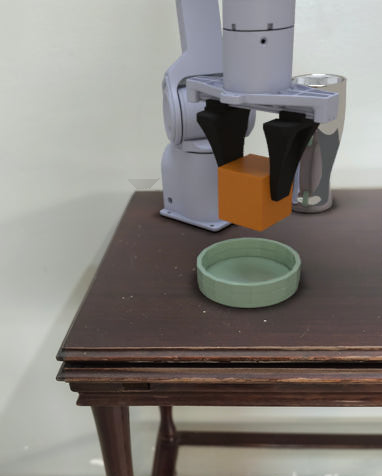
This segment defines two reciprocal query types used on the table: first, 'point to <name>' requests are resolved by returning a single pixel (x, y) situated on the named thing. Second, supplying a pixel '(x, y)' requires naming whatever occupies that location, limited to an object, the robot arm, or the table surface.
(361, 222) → the table surface
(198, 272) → the celadon bowl
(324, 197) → the beer glass
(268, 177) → the orange cube
